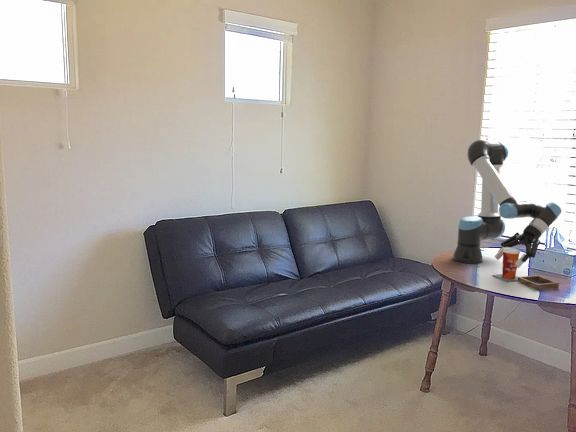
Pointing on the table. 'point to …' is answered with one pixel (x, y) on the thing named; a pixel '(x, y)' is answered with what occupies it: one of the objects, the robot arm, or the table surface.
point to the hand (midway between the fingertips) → (506, 262)
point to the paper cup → (510, 262)
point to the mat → (505, 278)
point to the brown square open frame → (547, 282)
